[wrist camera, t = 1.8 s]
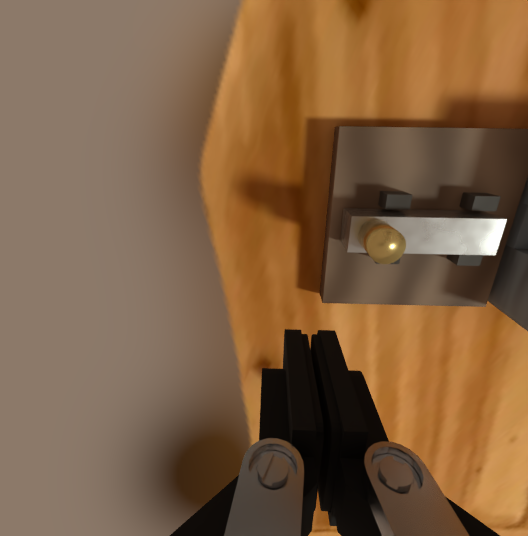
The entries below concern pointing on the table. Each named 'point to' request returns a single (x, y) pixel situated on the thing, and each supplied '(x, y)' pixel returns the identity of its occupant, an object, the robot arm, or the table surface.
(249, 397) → the table surface
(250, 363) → the table surface
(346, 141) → the frame
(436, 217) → the bolt
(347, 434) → the robot arm
